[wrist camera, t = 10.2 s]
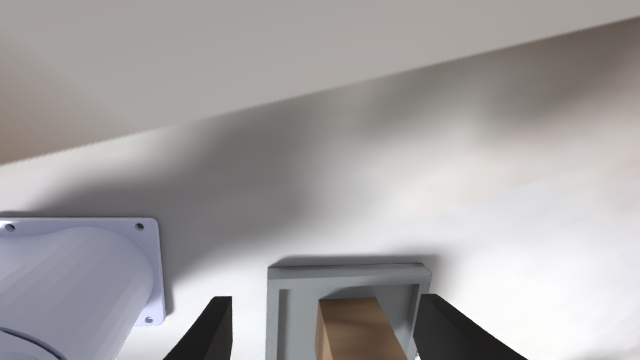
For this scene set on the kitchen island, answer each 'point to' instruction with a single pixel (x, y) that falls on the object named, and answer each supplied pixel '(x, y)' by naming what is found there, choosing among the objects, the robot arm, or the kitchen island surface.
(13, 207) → the kitchen island surface
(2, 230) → the robot arm
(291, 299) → the grey tray
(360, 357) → the walnut block
